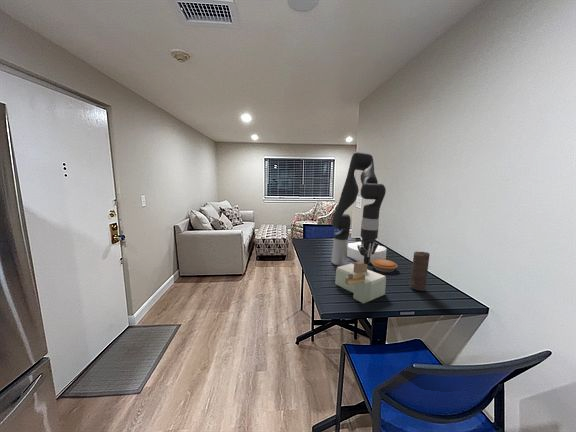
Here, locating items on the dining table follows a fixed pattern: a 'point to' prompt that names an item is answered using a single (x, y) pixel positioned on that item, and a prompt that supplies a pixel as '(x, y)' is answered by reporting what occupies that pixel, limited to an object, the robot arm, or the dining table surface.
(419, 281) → the candle
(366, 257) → the robot arm
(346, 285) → the light green open box
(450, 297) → the dining table surface
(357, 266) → the lid
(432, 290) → the dining table surface
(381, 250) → the white knobbed disc
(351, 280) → the tan tapered bar
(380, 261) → the pie
